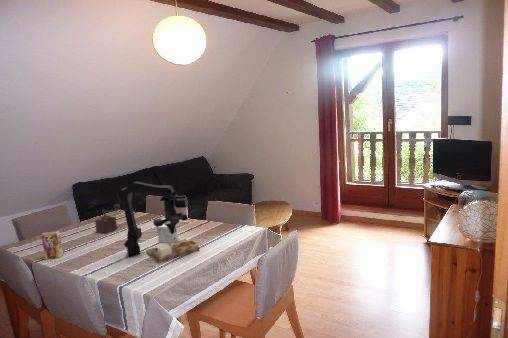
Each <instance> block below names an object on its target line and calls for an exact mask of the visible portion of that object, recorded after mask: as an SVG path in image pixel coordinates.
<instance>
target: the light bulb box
mask: <svg viewBox="0 0 508 338" xmlns="http://www.w3.org/2000/svg"><path fill="white" fill-rule="evenodd" d="M156 230H157V238H158V243H164V244H170V243H173V242H177V241H179V238H178V237H179V236H178V228H177V225H176V226H175V229H174V232H173V234H171V233H170V231H169V229H168V227H167V226H166V225H165V224H163V225H162V226H158V227H156Z"/></svg>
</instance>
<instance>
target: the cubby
mask: <svg viewBox="0 0 508 338" xmlns="http://www.w3.org/2000/svg"><path fill="white" fill-rule="evenodd" d="M187 240H188V241H184V242H181V243H177V244H173V248H177V247H180V246H184V245H187V244H193V245H191V246H187V247H184V248H181V249H179V251H180V253H181V252H184V251H188V250H191V249H194V248H198V247H199V244H198V243H197V242H195V241H194V240H193V239H187Z"/></svg>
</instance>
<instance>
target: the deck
mask: <svg viewBox="0 0 508 338" xmlns="http://www.w3.org/2000/svg"><path fill="white" fill-rule="evenodd" d="M188 240H189V239H187V238H185V239H184V238H183V239H181V240H176V241H175V242H173V243H166V244H167V245H169V246H170V247H171V250H172V254H170V255H166V256H163V257H161V256H160V255H159V254H158V251H157V247H158V246H156V247H152V248H149V249H145V250H146V251H145V252H146V254H147V255H148V257H150V258H152V260H153V261H155V263H157V264H161V263H164V262H167V261H170V260H173V259H177V258H180V257H183V256H187V255H189V254H193V253H197V252H200V247H199V246H198V248H194V249H191V250H188V251H184V252H181V253H180V251H179V249H181V248H184V247H187V246H191V245H193V244H187V245H184V246H180V247H177V248H173V244H177V243H181V242H184V241H188ZM163 245H164V244H162V245H161V246H163Z"/></svg>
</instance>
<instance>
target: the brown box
mask: <svg viewBox="0 0 508 338" xmlns="http://www.w3.org/2000/svg"><path fill="white" fill-rule="evenodd" d="M113 207H114V209H113V210H106V209H105V208H102V212H103V216H101V217H99V218H97V219H94V224H95V230H96V233H98V234H104V235H107V234H110V233H112V232H114V231H116V230H118V226H117V217H116V216H110V215H106V213H109V212H111V213H112V212H117V211H119V210H120V209H119V208H120V207H121V205H120V204H118V203H115V204H114V205H113Z"/></svg>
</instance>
